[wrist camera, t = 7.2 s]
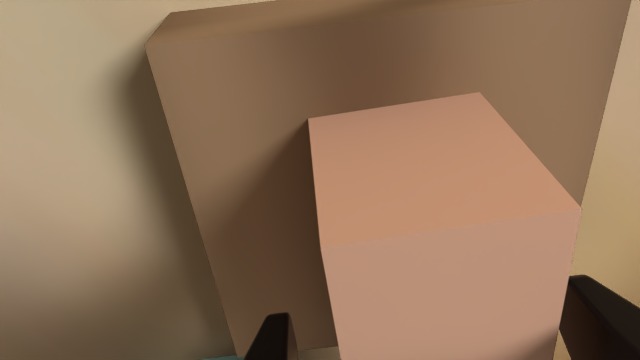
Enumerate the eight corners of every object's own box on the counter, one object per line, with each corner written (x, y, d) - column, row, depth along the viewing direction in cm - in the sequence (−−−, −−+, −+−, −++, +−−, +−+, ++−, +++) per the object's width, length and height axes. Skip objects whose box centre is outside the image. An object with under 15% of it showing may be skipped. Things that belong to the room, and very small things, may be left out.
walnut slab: (556, -38, 11) (633, -11, 9) (511, 251, 16) (552, 322, 14) (175, 6, 11) (144, 45, 9) (245, 281, 16) (237, 357, 14)
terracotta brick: (308, 118, 10) (320, 247, 6) (479, 91, 10) (581, 208, 6) (341, 317, 13) (361, 472, 10) (470, 298, 13) (535, 448, 10)
